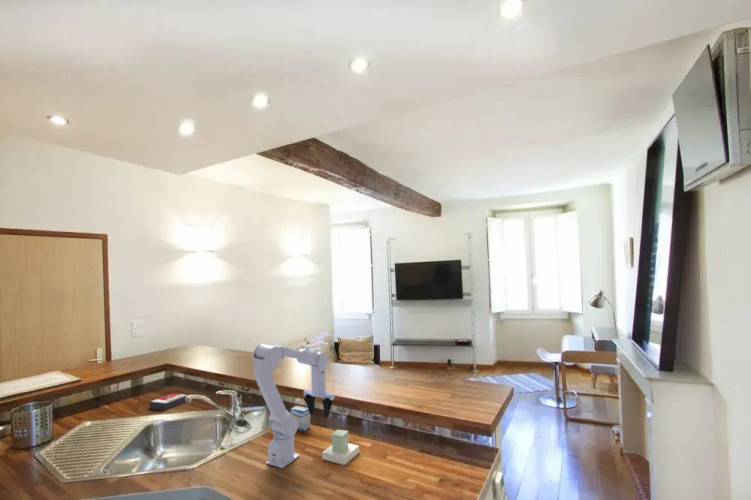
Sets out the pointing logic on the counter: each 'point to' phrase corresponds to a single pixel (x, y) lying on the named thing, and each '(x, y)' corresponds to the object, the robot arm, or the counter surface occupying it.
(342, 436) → the sage block
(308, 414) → the medicine box
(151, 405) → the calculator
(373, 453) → the counter surface
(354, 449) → the white block
